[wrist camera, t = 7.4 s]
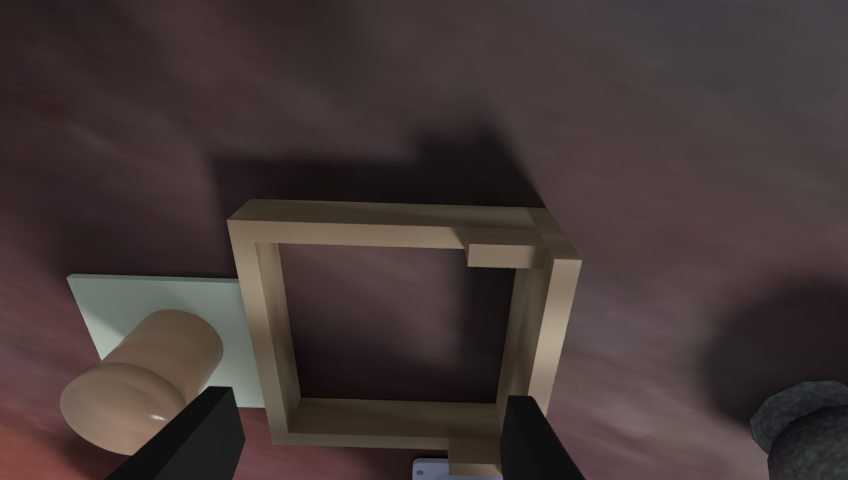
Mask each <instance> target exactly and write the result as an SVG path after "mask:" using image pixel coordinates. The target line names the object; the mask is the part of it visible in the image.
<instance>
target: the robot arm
mask: <svg viewBox="0 0 848 480" xmlns="http://www.w3.org/2000/svg"><path fill="white" fill-rule="evenodd" d="M244 443H245V436H244V432H243V428H242V424H241V420H240V416H239V412H238V408H237V404H236V400H235V396H234V392H233V388H232V387H228V386H208V387H207V388H206V389H205V390H204V391H203V392H202V393H200V394H199V395H198V396H197V397H196V398H195V399H194V400H193V401H192V402H191V403H189V404H188V405H187V406H186V407H185V408H184V409H183V410H182V411H181V412H180V413H179V414H178V415H176V416H175V417H174V418H173V419H172V420H171V421H170V422H169V423H168V424H167V425H166V426H164V427H163V428H162V429H161V430H160V431H159V432H158V433H157V434H156V435H155V436H153V437H152V438H151V439H150V440H149V441H148V442H147V443H146V444H145V445H143V446H142V447H141V448H140V449H139V450H138V451H137V452H136V453H134V454H133V455H132V456H131V457H130V458H129V459H128V460H127V461H125V462H124V463H123V464H122V465H121V466H120V467H119V468H117V469H116V470H115V471H114V472H113V473H111V474H110V475H109V476H108V477H107V478H105V479H104V480H232V478H233V476H234V473H235V470H236V467H237V464H238V461H239V458H240V455H241V452H242V449H243V446H244ZM499 449H500V458H501V467H502V476H503V477H493V476H460V475H449V465H448V459H437V458H417V459H415V460H414V461H413V478H412V480H586V479H585V478H584V476H583V475H582V473H581V472H580V471H579V469H578V468H577V466H576V465H575V463H574V462H573V460H572V459H571V457H570V456H569V454H568V453H567V451H566V450H565V448H564V447H563V445H562V444H561V442H560V440H559V439H558V437H557V436H556V434H555V432H554V431H553V429H552V428H551V426H550V424H549V423H548V421H547V419H546V418H545V416H544V414H543V412H542V411H541V409H540V407H539V405H538V404H537V402H536V400H535V399H534V398H533V397H532V396H521V395H508V399H507V405H506V411H505V417H504V423H503V429H502V435H501V441H500V447H499Z"/></svg>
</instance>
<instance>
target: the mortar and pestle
mask: <svg viewBox="0 0 848 480" xmlns="http://www.w3.org/2000/svg"><path fill="white" fill-rule="evenodd" d="M750 423H751V430H752V437H753V440H754V441H755V442H756V443H757V444H758V445H759V446H760V448H761V449H762V450H763V451H765V452H766V453H767V454H768V455H769V456H768V459H767V462H768V470H769V478H770V480H848V387H847V386H845V385H844V384H842V383H840V382H838V381H836V380H826V381H812V382H800V383H798V384H796V385H794V386H792V387H790V388H788V389H786V390H783V391H781V392H779V393H777V394H775V395H773V396H771V397H769V398H767V399H766V401H765V402H764V403H763V404H762V406H761V407H760V408H759V409H758V411H757V412H756V413H755V414H754V416H753V417H752V418H751V419H750Z"/></svg>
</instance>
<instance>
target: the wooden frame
mask: <svg viewBox="0 0 848 480" xmlns="http://www.w3.org/2000/svg"><path fill="white" fill-rule="evenodd" d="M227 224H228V229H229V234H230V239H231V244H232V249H233V254H234V258H235V263H236V268H237V273H238V278H239V283H240V288H241V292H242V297H243V302H244V307H245V312H246V317H247V321H248V326H249V331H250V336H251V341H252V346H253V351H254V355H255V360H256V365H257V370H258V375H259V380H260V385H261V389H262V394H263V399H264V404H265V409H266V414H267V419H268V423H269V428H270V433H271V438H272V443H273V445H305V446H338V447H371V448H404V449H437V450H448V465H449V475H460V476H493V477H503V476H502V467H501V458H500V449H499V447H500V441H501V435H502V429H503V423H504V417H505V411H506V405H507V399H508V395H521V396H532V397H533V398H534V399H535V400H536V402H537V404H538V405H539V407H540V409H541V411H542V412H543V414H544V416H545V417H546V413H547V409H548V405H549V400H550V396H551V392H552V387H553V383H554V379H555V375H556V370H557V366H558V362H559V358H560V353H561V349H562V345H563V340H564V336H565V332H566V328H567V323H568V319H569V315H570V310H571V306H572V302H573V298H574V293H575V289H576V285H577V280H578V276H579V272H580V268H581V263H582V259H581V257H580V256H579V255H578V253H577V252H576V250H575V249H574V247H573V246H572V244H571V243H570V241H569V240H568V238H567V237H566V236H565V234H564V233H563V231H562V230H561V228H560V227H559V225H558V224H557V222H556V221H555V220H554V218H553V217H552V215H551V214H550V212H549V211H548V209H547V208H529V207H498V206H466V205H435V204H403V203H371V202H340V201H308V200H276V199H249V200H248V201H247V202H246V203H245V204H244V205H243V206H242V207H241V208H239V209H238V210H237V211H236V212H235V213H234V214H233V215H232V216H231V217H229V218H228V219H227ZM278 243H296V244H328V245H360V246H392V247H424V248H456V249H465V254H466V260H467V266H468V267H500V268H516V273H515V280H514V287H513V293H512V300H511V306H510V313H509V320H508V326H507V333H506V339H505V346H504V353H503V359H502V366H501V372H500V379H499V386H498V392H497V399H496V404H492V403H459V402H426V401H394V400H361V399H328V398H301V395H300V388H299V381H298V375H297V368H296V361H295V354H294V348H293V341H292V334H291V327H290V321H289V314H288V307H287V301H286V294H285V287H284V280H283V274H282V267H281V260H280V253H279V247H278Z"/></svg>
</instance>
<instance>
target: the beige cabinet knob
mask: <svg viewBox="0 0 848 480" xmlns="http://www.w3.org/2000/svg"><path fill="white" fill-rule="evenodd" d="M223 353H224V348H223V343H222V340H221V338H220V336H219V335H218V333H217V332H216V330H215V329H214V328H213V327H212V326H211V325H210V324H209V323H207V322H206V321H205V320H203V319H201V318H200V317H198V316H196V315H194V314H191V313H188V312H185V311H181V310H173V309H166V310H160V311H156V312H153V313H151V314H149V315H148V316H147V317H146V318H144V319H143V320H142V321H141V322H140V323H139V324H138V325H137V326H136V327H135V328H134V329H133V330H132V331H131V332H130V333H129V334H128V335H127V336H126V337H125V338H124V339H123V340H122V341H121V342H120V343H119V344H118V345H117V346H116V347H115V348H114V349H113V350H112V351H111V352H110V353H109V354H108V355H107V356H106V357H105V358H104V359H103V360H102V361H101V362H100V363H99V364H96V365H93V366H91V367H89V368H87V369H85V370H84V371H83V372H81V373H80V374H79V375H78V376H77V377H76V378H75V379H74V380H73V381H72V382H71V383H70V384H69V385H68V386H67V387H66V388H65V389H64V390H63V392H62V394H61V397H60V408H61V412H62V414H63V417H64V418H65V420H66V421H67V423H68V424H69V425H70V427H71V428H72V429H73V430H74V431H75V432H77V433H78V434H79V435H80V436H82V437H83V438H84V439H86V440H87V441H89V442H91V443H93V444H95V445H97V446H99V447H101V448H103V449H106V450H109V451H112V452H115V453H120V454H125V455H133V454H134V453H136V452H137V451H138V450H139V449H140V448H141V447H142V446H143V445H145V444H146V443H147V442H148V441H149V440H150V439H151V438H152V437H153V436H155V435H156V434H157V433H158V432H159V431H160V430H161V429H162V428H163V427H164V426H166V425H167V424H168V423H169V422H170V421H171V420H172V419H173V418H174V417H175V416H176V415H178V414H179V413H180V412H181V411H182V410H183V409H184V408H185V407H186V406H187V405H188V404H189V403H191V402H192V401H193V400H194V399H195V398H196V397H197V396H198V395H199V394H200V392H201V391H202V389H203V388H204V386H205V385H206V383H207V382H208V380H209V378H210V377H211V375H212V374H213V372H214V371H215V369H216V368H217V366H218V364H219V363H220V361H221V360H222V357H223Z"/></svg>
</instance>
